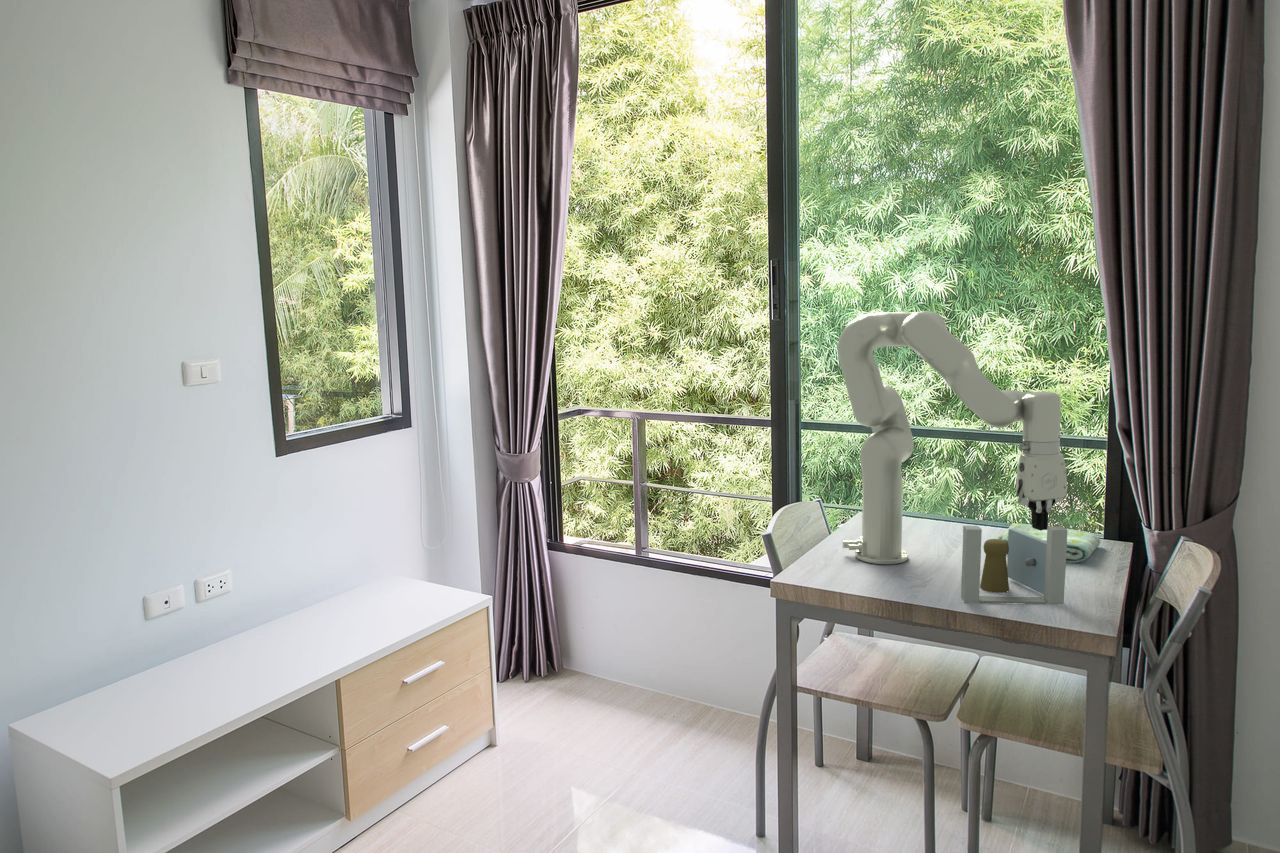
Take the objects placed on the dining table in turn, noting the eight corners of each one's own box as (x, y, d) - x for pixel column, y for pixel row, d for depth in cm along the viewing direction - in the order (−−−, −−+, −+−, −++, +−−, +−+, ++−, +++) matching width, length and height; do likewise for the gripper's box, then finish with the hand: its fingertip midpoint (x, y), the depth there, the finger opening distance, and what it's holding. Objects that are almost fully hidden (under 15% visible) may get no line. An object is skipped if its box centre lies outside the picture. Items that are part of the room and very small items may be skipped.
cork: (989, 593, 193) (990, 544, 191) (974, 584, 199) (976, 537, 197) (1014, 591, 194) (1017, 543, 192) (999, 583, 200) (1001, 535, 198)
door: (1049, 594, 189) (1052, 543, 188) (1038, 596, 189) (1040, 545, 187) (1011, 576, 202) (1013, 528, 200) (1000, 577, 201) (1002, 529, 199)
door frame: (964, 602, 188) (966, 529, 186) (960, 597, 191) (963, 525, 189) (1063, 604, 186) (1067, 530, 183) (1058, 599, 189) (1062, 526, 186)
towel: (1012, 536, 237) (1012, 517, 236) (1100, 548, 225) (1101, 529, 224) (993, 553, 223) (994, 533, 222) (1086, 567, 210) (1088, 546, 209)
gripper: (1022, 453, 192) (1021, 536, 194) (1082, 447, 195) (1080, 529, 197) (1000, 448, 199) (999, 528, 201) (1058, 442, 202) (1057, 521, 205)
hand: (1039, 528), depth 199 cm, fingers closed
